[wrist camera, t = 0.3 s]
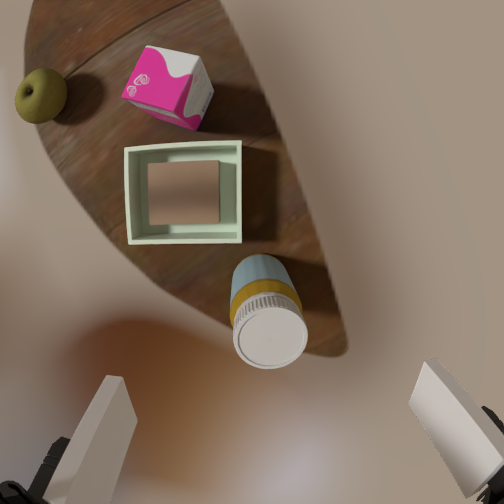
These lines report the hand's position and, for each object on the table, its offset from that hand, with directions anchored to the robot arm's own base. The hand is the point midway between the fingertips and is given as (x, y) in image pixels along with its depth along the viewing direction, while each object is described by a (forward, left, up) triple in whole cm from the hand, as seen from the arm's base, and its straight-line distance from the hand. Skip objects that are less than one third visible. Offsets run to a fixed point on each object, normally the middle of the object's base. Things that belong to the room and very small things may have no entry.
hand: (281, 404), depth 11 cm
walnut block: (-7, -8, -26) cm, 28 cm away
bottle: (+4, +1, -27) cm, 27 cm away
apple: (-22, -29, -27) cm, 45 cm away
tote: (-7, -8, -27) cm, 29 cm away
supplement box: (-18, -9, -27) cm, 33 cm away
